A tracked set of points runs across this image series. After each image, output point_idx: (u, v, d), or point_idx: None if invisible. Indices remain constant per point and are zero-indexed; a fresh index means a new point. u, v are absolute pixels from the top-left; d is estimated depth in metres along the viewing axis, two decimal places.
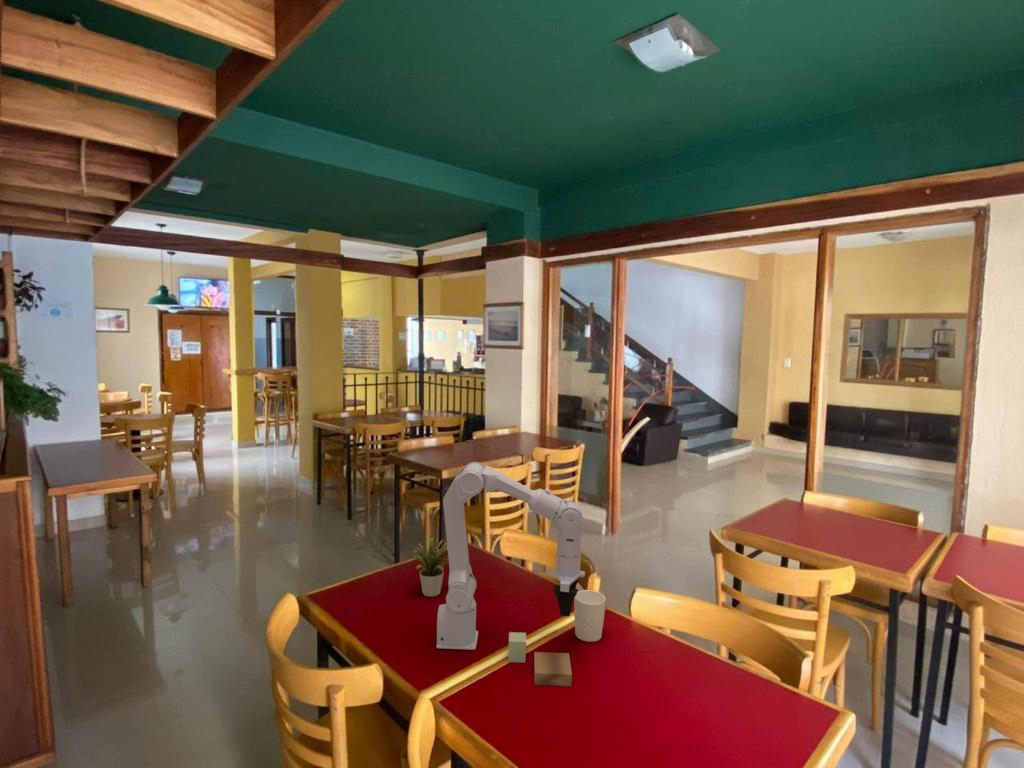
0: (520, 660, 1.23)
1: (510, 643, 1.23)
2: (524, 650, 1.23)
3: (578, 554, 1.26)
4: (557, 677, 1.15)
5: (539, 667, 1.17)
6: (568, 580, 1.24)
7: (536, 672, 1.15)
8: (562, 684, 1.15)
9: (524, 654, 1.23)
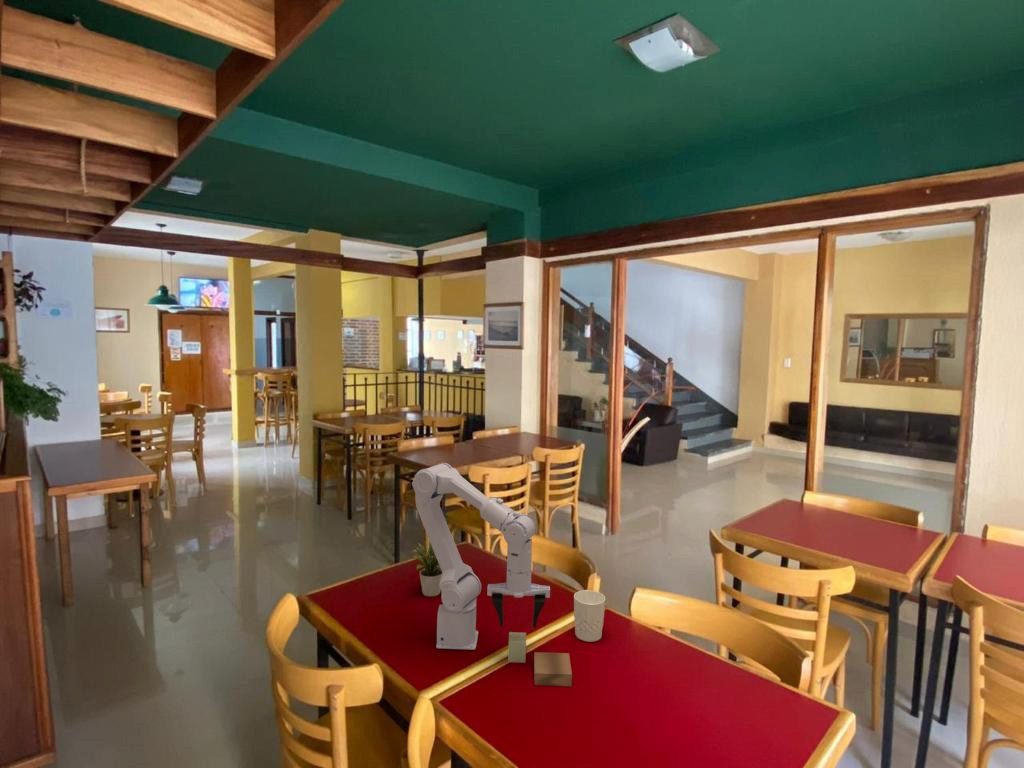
0: (520, 660, 1.23)
1: (510, 643, 1.23)
2: (524, 650, 1.23)
3: (524, 570, 1.21)
4: (557, 677, 1.15)
5: (539, 667, 1.17)
6: (498, 588, 1.24)
7: (536, 672, 1.15)
8: (562, 684, 1.15)
9: (524, 654, 1.23)
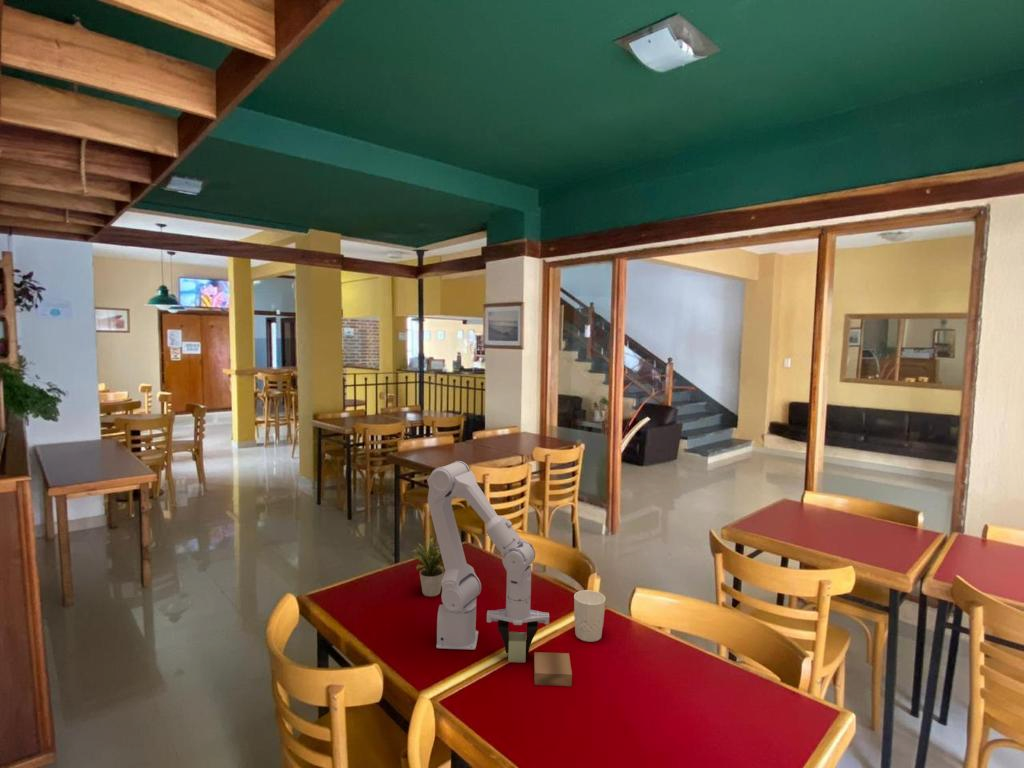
0: (520, 660, 1.23)
1: (510, 643, 1.23)
2: (524, 650, 1.23)
3: (524, 598, 1.22)
4: (558, 677, 1.15)
5: (539, 667, 1.17)
6: (497, 615, 1.24)
7: (536, 672, 1.15)
8: (562, 684, 1.15)
9: (524, 654, 1.23)
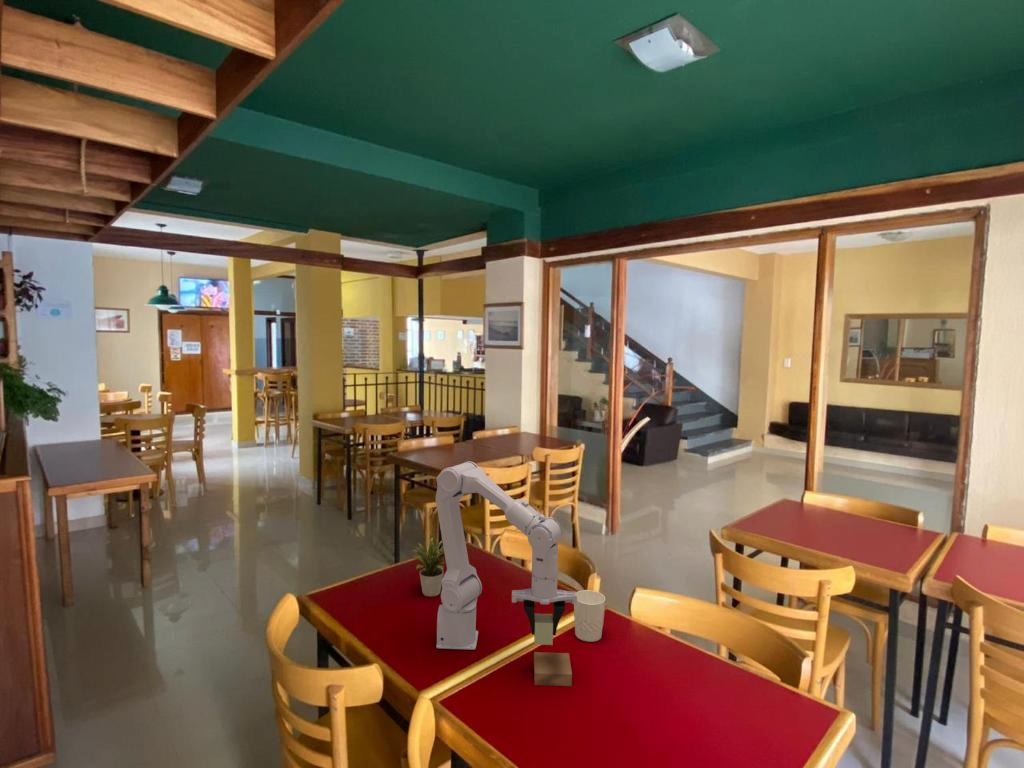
0: (547, 642, 1.18)
1: (536, 624, 1.18)
2: (551, 632, 1.18)
3: (550, 576, 1.17)
4: (558, 677, 1.15)
5: (539, 667, 1.17)
6: (523, 594, 1.19)
7: (536, 672, 1.15)
8: (562, 684, 1.15)
9: (551, 636, 1.18)
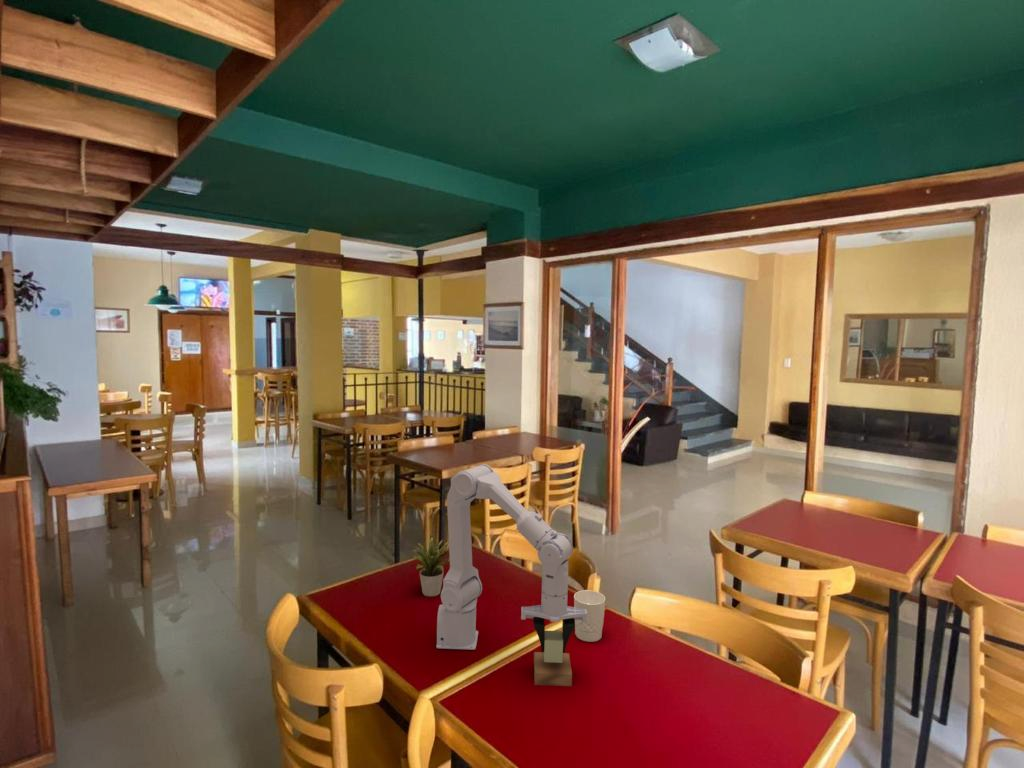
0: (557, 660, 1.17)
1: (546, 642, 1.16)
2: (561, 649, 1.16)
3: (560, 594, 1.15)
4: (558, 677, 1.15)
5: (539, 667, 1.17)
6: (532, 611, 1.17)
7: (536, 672, 1.15)
8: (562, 684, 1.15)
9: (561, 653, 1.16)
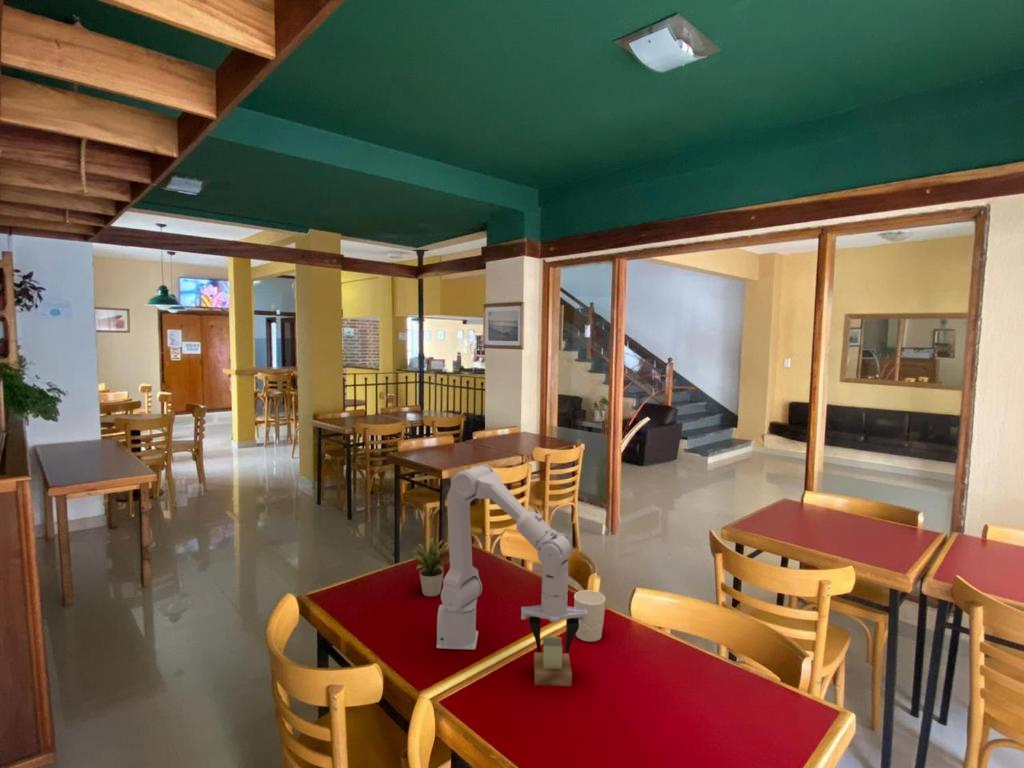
0: (556, 666, 1.17)
1: (545, 648, 1.17)
2: (560, 655, 1.17)
3: (560, 594, 1.15)
4: (558, 678, 1.15)
5: (539, 668, 1.17)
6: (532, 611, 1.17)
7: (536, 672, 1.15)
8: (562, 684, 1.15)
9: (560, 660, 1.17)
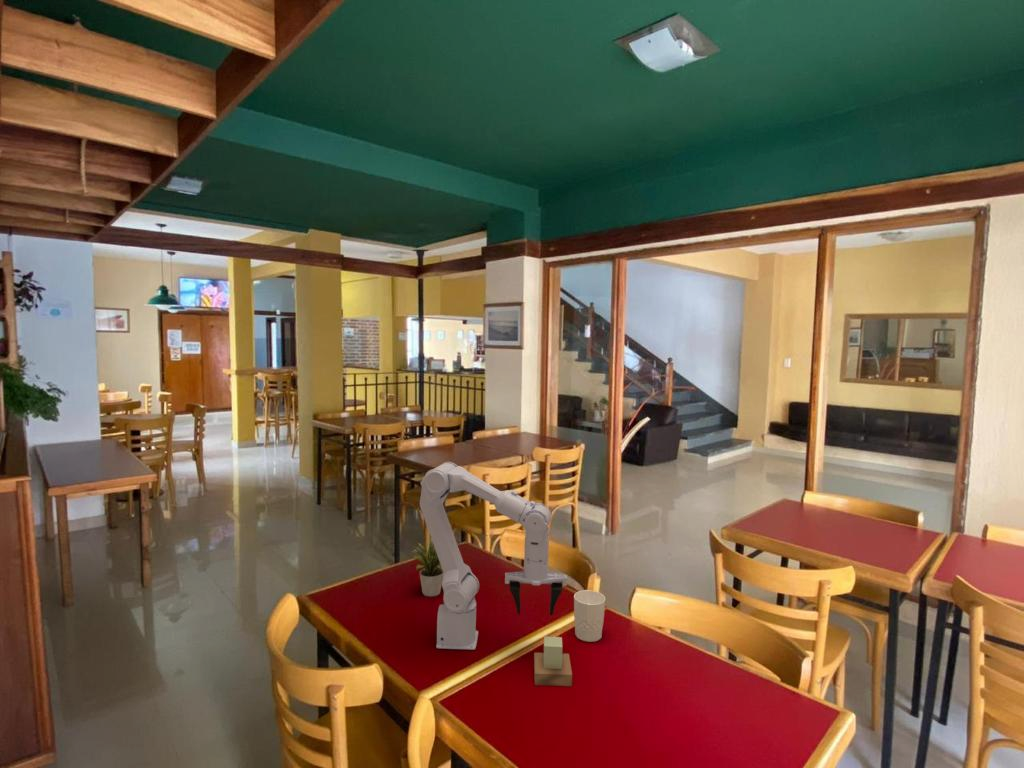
0: (556, 666, 1.17)
1: (546, 648, 1.17)
2: (560, 656, 1.17)
3: (544, 558, 1.23)
4: (558, 678, 1.15)
5: (540, 667, 1.17)
6: (515, 576, 1.25)
7: (536, 672, 1.15)
8: (562, 684, 1.15)
9: (560, 660, 1.17)
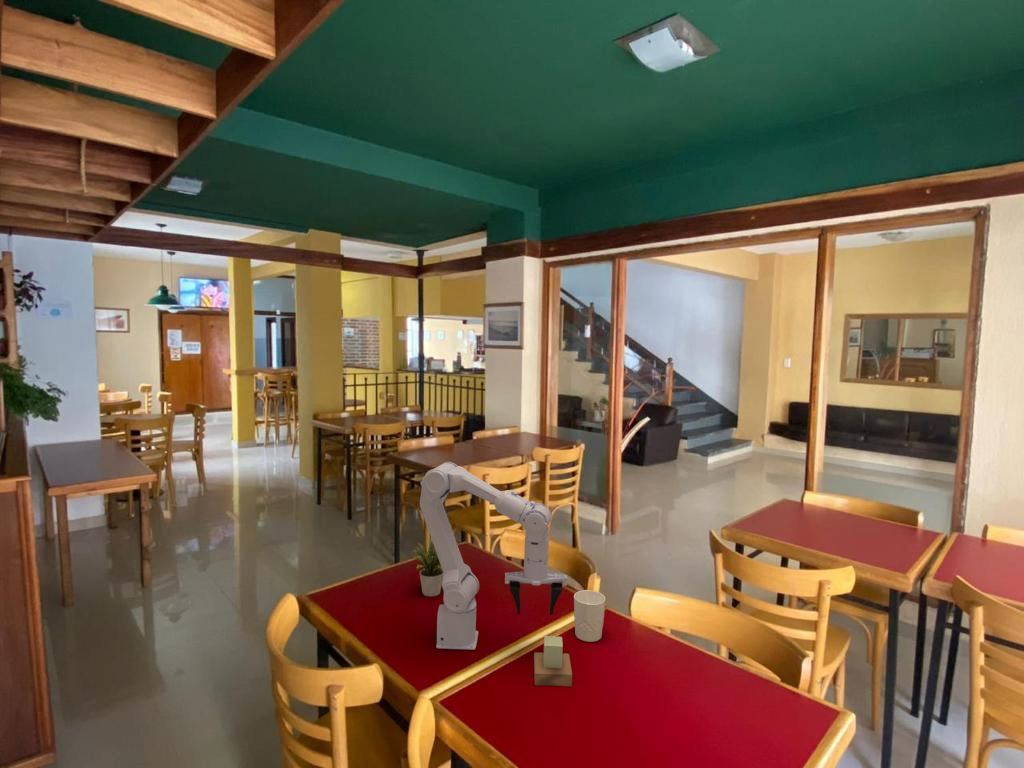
0: (556, 666, 1.17)
1: (546, 647, 1.17)
2: (560, 655, 1.17)
3: (544, 558, 1.23)
4: (558, 678, 1.15)
5: (540, 667, 1.17)
6: (515, 576, 1.25)
7: (536, 672, 1.15)
8: (562, 684, 1.15)
9: (560, 659, 1.17)
